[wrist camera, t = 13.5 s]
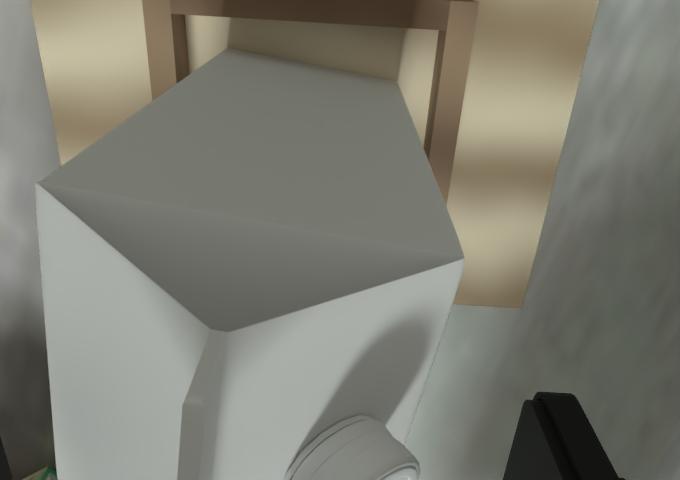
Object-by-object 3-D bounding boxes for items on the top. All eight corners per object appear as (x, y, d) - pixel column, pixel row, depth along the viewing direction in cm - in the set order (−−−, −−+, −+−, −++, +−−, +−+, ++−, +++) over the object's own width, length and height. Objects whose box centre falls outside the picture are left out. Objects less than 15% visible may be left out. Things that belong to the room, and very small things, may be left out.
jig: (515, 295, 28) (532, 329, 26) (94, 271, 28) (67, 304, 25) (599, -52, 21) (635, -53, 18) (30, -87, 21) (-17, -94, 18)
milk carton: (212, 205, 25) (-74, 715, 8) (226, 45, 22) (-202, 342, 5) (363, 231, 25) (390, 764, 9) (398, 79, 22) (552, 455, 5)
